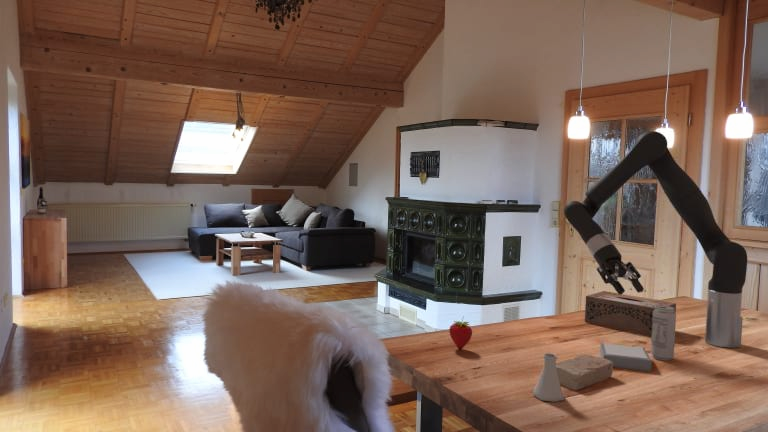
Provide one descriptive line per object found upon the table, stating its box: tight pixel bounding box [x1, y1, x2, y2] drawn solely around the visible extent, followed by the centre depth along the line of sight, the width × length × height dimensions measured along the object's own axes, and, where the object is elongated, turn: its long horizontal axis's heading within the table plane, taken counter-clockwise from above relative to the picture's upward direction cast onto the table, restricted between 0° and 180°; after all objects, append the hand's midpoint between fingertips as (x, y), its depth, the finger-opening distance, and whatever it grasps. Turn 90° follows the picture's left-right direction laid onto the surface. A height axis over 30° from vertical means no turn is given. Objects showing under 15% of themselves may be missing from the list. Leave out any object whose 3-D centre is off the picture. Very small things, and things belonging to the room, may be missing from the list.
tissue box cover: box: [584, 290, 677, 338], centre depth 192 cm, size 26×14×10 cm, turn 43°
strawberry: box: [448, 315, 473, 350], centre depth 161 cm, size 6×8×10 cm
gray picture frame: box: [599, 342, 652, 372], centre depth 153 cm, size 12×12×3 cm
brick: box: [556, 353, 614, 391], centre depth 139 cm, size 17×8×5 cm, turn 126°
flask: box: [533, 352, 565, 403], centre depth 126 cm, size 7×7×10 cm
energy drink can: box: [650, 305, 677, 361], centre depth 157 cm, size 6×6×15 cm
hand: (632, 292), depth 166 cm, fingers open, 8 cm apart
